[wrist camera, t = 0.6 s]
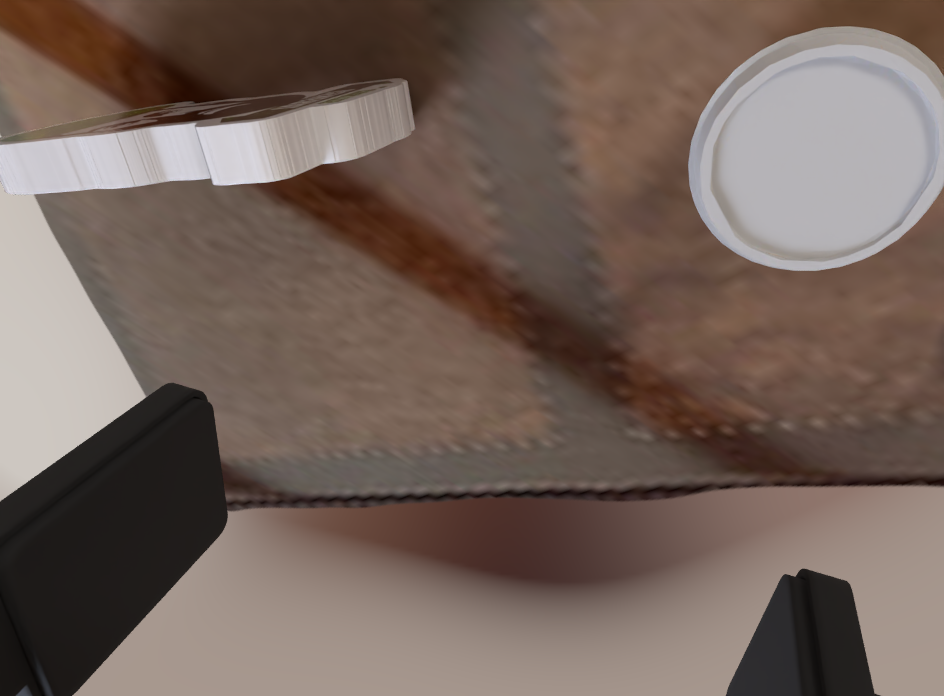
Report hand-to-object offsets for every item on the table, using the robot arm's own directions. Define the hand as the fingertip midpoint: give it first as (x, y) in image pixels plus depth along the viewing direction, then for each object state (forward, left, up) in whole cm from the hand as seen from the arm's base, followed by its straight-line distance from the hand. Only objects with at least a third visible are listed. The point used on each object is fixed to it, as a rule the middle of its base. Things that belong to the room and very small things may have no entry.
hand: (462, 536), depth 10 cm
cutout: (+5, -25, -33) cm, 42 cm away
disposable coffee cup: (-2, +7, -33) cm, 34 cm away
